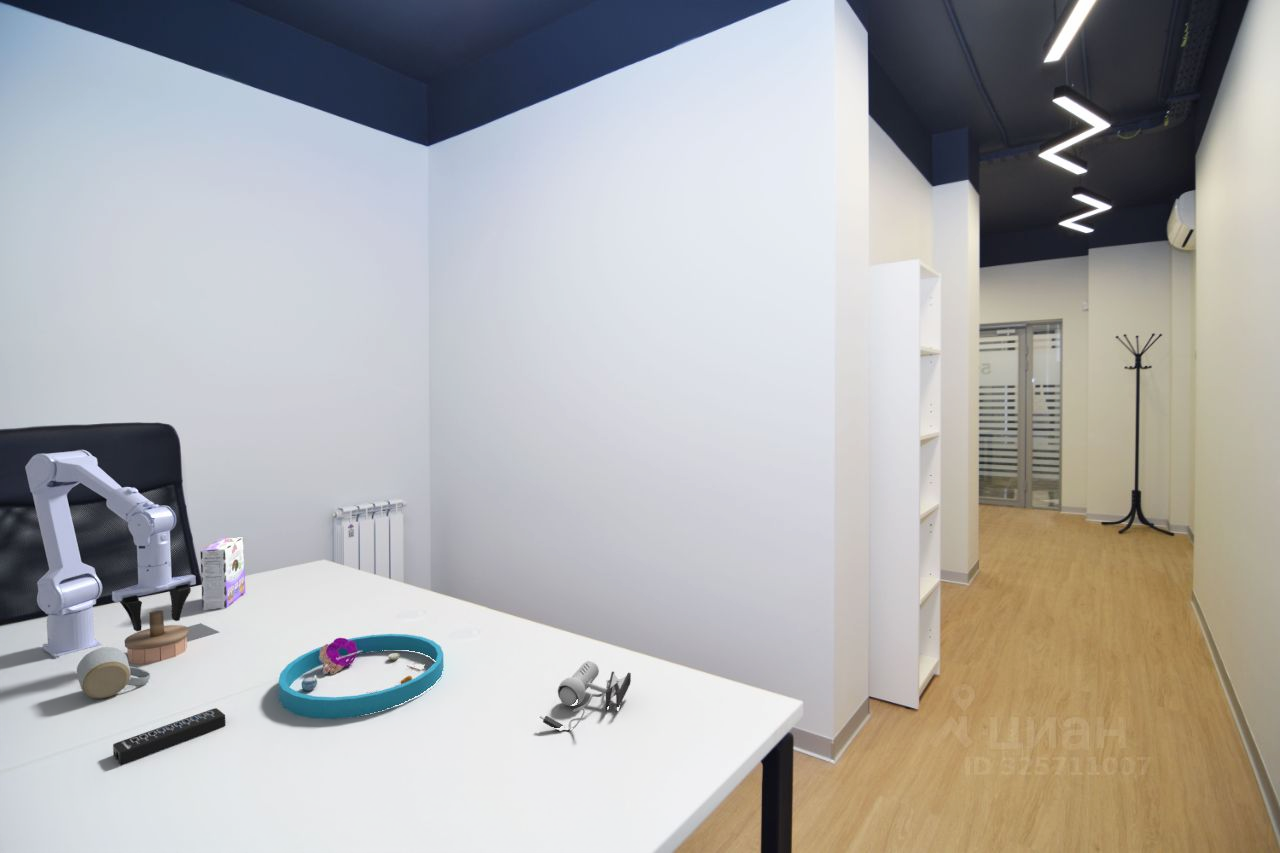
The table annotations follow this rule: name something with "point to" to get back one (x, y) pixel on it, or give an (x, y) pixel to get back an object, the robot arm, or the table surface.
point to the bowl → (157, 652)
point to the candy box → (222, 573)
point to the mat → (199, 631)
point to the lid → (156, 634)
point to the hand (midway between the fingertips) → (157, 624)
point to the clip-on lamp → (583, 680)
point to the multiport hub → (168, 736)
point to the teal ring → (338, 657)
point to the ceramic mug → (108, 673)
